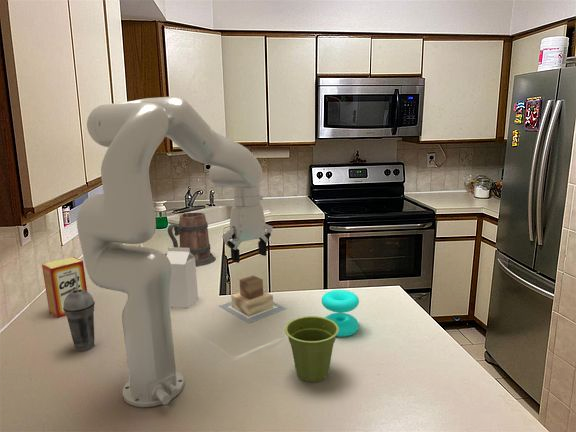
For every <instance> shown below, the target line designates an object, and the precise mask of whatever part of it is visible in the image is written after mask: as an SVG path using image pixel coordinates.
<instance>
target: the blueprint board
mask: <svg viewBox="0 0 576 432" xmlns="http://www.w3.org/2000/svg"><path fill="white" fill-rule="evenodd" d="M219 307H220V308H222V309H223V310H225V311H227V312H228V313H230V314H232V315H233V316H235V317H237V318H239V319H240V320H243V322H245V323H248V324H250V323H254V322H256V321H259V320H261V319H265V318H267V317H269V316H271V315H274V314H277V313H279V312H282V311H284V310H287V308H286V307H285V306H282V305H280V304H278V303H276V302H274V301H273V308H270V309H268V310H265V311H262V312H260V313H257V314H254V315H252V316H247V315H245V314H244V313H242V312H240V311H238V310H236V309H235V308H233V307H232V301H229V302H227V303H224V304H221V305H219Z"/></svg>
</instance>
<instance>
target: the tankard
mask: <svg viewBox="0 0 576 432" xmlns="http://www.w3.org/2000/svg"><path fill="white" fill-rule="evenodd" d="M208 224H209V223H208V221H207V219H206V214H205V213H204V212H185V213H181V214H180V216H179V223H178V225H177V224H174V223H173V224H170V225H169V226H168V228H167V234H168V236H169V238H170V239H171V242H172V245H173V248H189V249H190V252H191V253H192V254H193V256H194V257H195V264H196V268H197V267H203V266H208V265H210V264H213V263H215V262H216V260H217V259H216V257H215V256H214V254H213V253H212V252H211V243H210V239H209V225H208ZM173 231H174V233H173ZM177 236H179V242H178V241H177V238H176V237H177ZM167 253H168V252H167ZM167 253H164V254H165V255H166V256H167Z"/></svg>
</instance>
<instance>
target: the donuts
mask: <svg viewBox="0 0 576 432" xmlns="http://www.w3.org/2000/svg"><path fill="white" fill-rule="evenodd" d="M321 304H322V306H323V307H324V308H325V309H326V310H328V311H330V312H333V313H330V314H327V315H326V316H325V317H324V318H327V319H330V320H332V321H334V322H335V323H336V324H337V325H338V327H339V332H338V334H337V335H336V337H338V338H339V337H341V338H342V337H349V336H352V335H355V334H356V333H357V331H358V329H359V326H360V325H359V322H358V321H359V320H358V319H357V318H356V317H355V316H354V315H351V314H349V312H351V311H353V310H355V309H357V307H358V306H359V304H360V299H359V297H358V295H357V294H356V293H354V292H352V291H349V290H344V289H343V290H342V289H334V290H329V291H327V292H325V293H324V294H323V295H322V297H321Z"/></svg>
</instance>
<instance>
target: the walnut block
mask: <svg viewBox="0 0 576 432" xmlns="http://www.w3.org/2000/svg"><path fill="white" fill-rule="evenodd" d="M263 291H264V279H262V278H260V277H257V276H256V275H253V274H252V275H249V276H247V277H243V278H240V279H239V292H240V295H241V296H243V297H245V298H247V299H249V300H250V299H253V298H256V297H259V296H262V295H263Z"/></svg>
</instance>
